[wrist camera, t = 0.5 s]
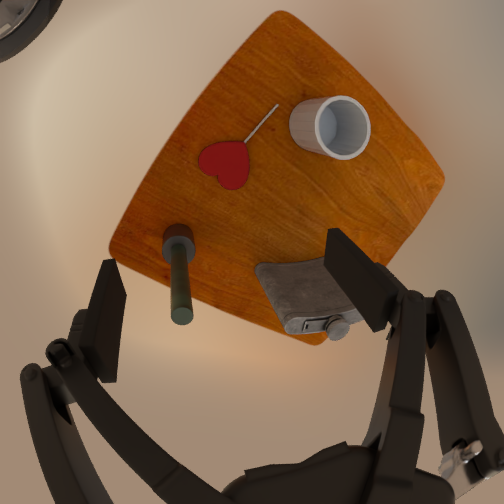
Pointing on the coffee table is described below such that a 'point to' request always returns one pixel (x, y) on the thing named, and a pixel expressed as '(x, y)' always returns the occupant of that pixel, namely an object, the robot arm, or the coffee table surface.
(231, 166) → the lollipop
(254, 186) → the coffee table surface
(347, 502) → the robot arm
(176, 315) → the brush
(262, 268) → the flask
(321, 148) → the canister
